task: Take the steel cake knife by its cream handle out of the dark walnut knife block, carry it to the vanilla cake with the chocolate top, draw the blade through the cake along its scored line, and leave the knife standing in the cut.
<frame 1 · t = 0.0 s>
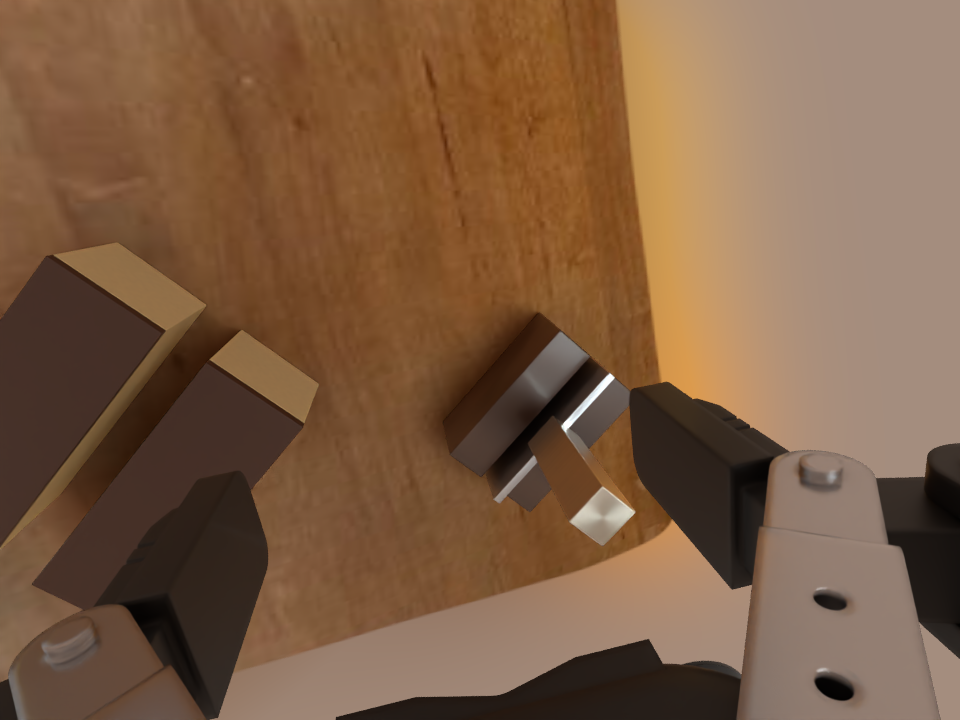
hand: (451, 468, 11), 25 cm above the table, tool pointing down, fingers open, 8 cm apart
cake: (149, 413, 35), on the table
cake knife: (526, 396, 39), resting in knife block
knife block: (526, 396, 39), on the table
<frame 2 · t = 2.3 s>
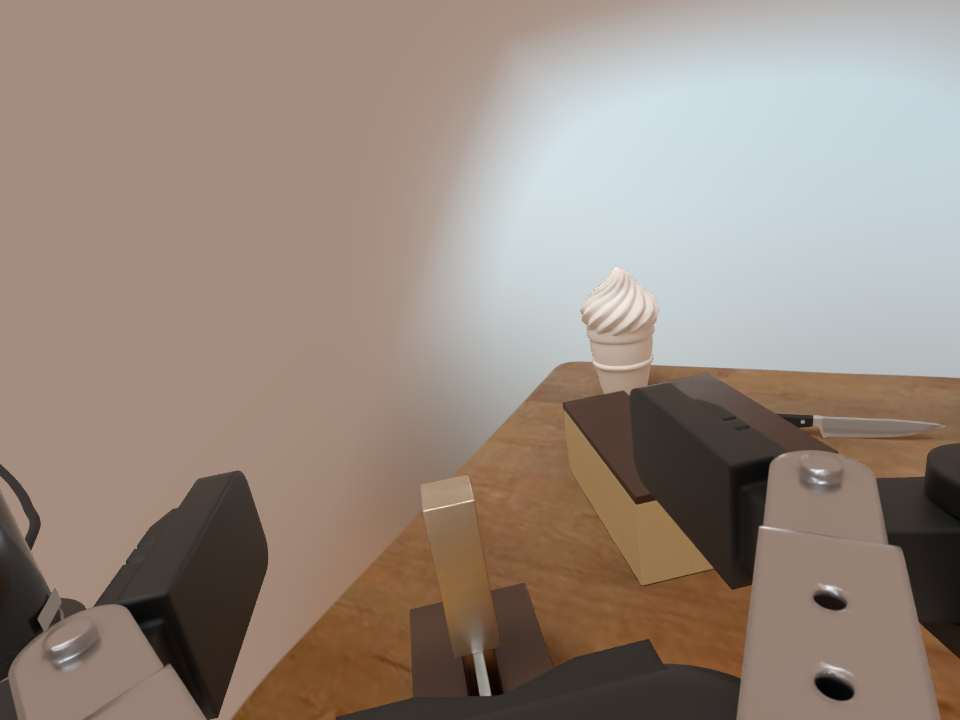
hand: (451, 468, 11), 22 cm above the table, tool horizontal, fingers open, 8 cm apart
ice cream cone: (625, 404, 64), on the table
knife: (842, 439, 51), on the table
cake: (681, 500, 46), on the table
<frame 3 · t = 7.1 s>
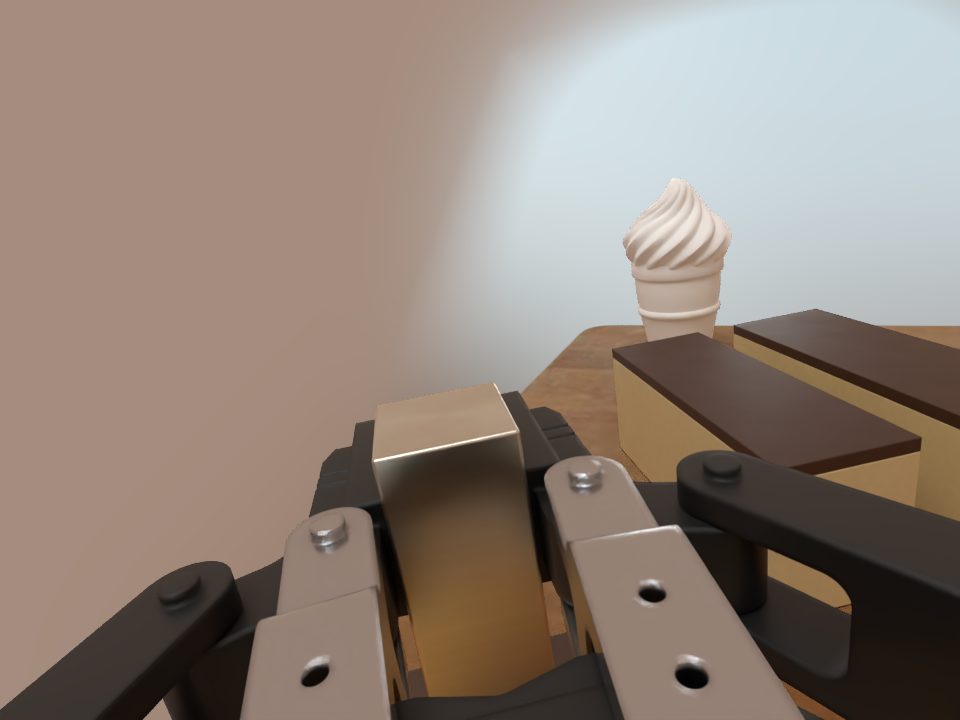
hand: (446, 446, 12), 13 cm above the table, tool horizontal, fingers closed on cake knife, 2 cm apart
ice cream cone: (681, 368, 49), on the table
cake: (798, 485, 30), on the table
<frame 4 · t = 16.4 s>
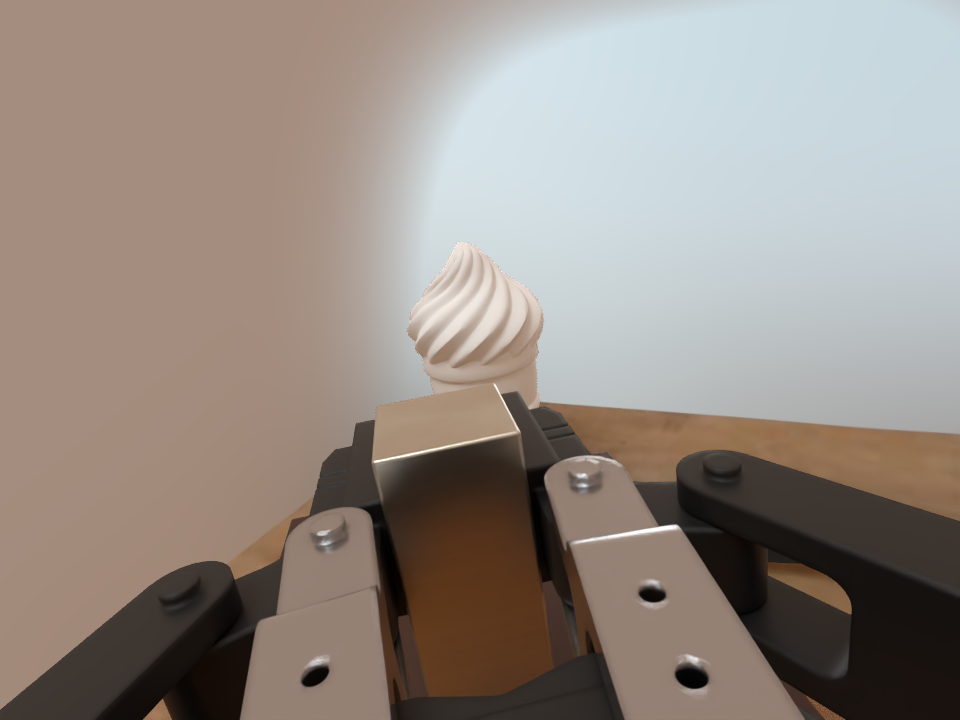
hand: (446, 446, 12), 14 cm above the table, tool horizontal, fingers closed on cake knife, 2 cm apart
ice cream cone: (501, 481, 38), on the table
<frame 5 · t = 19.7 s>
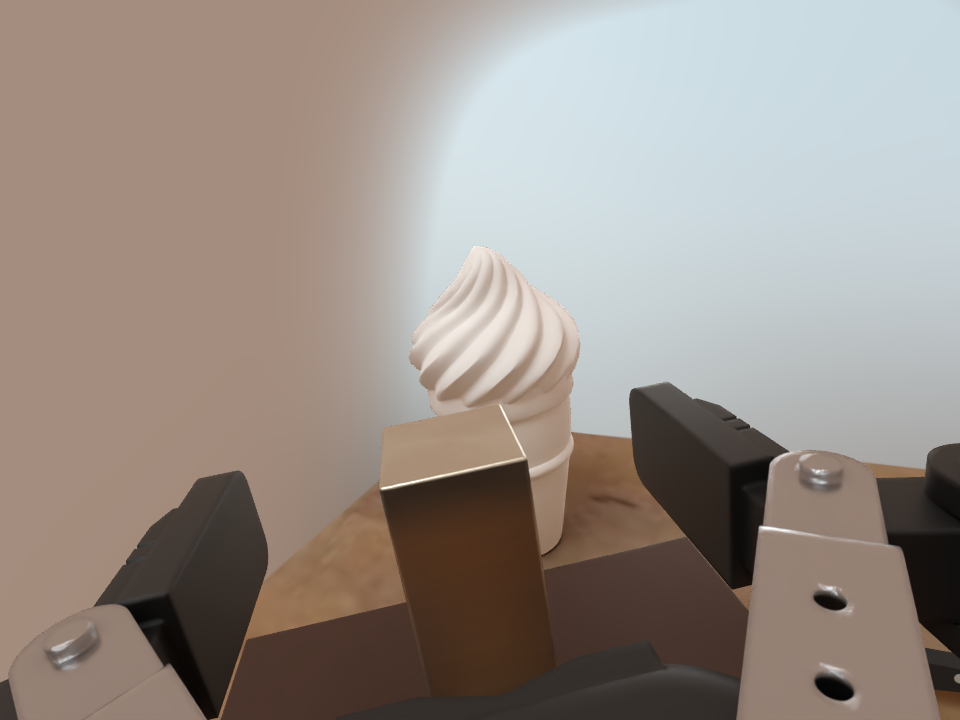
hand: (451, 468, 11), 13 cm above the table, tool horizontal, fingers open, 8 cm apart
ice cream cone: (524, 538, 31), on the table
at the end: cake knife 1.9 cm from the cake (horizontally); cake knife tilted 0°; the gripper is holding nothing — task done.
